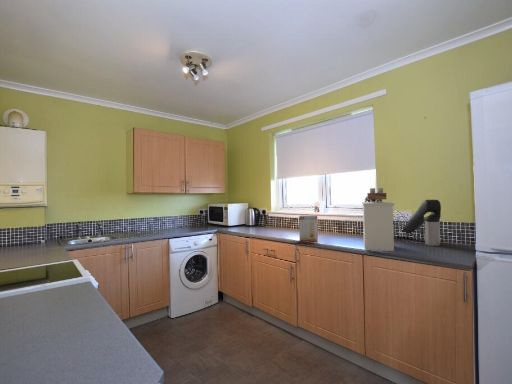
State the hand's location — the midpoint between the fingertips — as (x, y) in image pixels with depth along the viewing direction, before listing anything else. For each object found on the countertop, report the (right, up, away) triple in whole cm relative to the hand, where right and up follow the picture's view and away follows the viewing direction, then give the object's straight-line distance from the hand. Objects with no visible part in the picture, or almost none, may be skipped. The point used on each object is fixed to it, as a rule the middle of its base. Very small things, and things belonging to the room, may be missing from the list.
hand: (373, 194), depth 223 cm
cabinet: (-8, -37, -25) cm, 46 cm away
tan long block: (-4, -3, -11) cm, 11 cm away
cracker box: (-52, -38, +6) cm, 65 cm away
